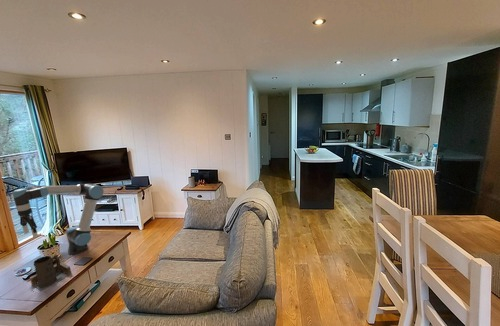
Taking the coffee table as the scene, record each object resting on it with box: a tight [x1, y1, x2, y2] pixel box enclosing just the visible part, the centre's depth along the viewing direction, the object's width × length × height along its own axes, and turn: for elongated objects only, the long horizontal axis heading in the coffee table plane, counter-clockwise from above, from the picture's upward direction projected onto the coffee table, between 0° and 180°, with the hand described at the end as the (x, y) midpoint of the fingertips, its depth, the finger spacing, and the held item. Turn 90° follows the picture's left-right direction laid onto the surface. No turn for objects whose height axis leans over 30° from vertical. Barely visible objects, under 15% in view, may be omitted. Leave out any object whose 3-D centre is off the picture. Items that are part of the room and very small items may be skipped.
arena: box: [29, 261, 72, 286], centre depth 178 cm, size 20×14×6 cm
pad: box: [33, 271, 69, 292], centre depth 177 cm, size 17×12×1 cm
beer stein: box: [33, 254, 61, 288], centre depth 175 cm, size 15×11×20 cm
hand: (31, 234), depth 179 cm, fingers open, 13 cm apart
